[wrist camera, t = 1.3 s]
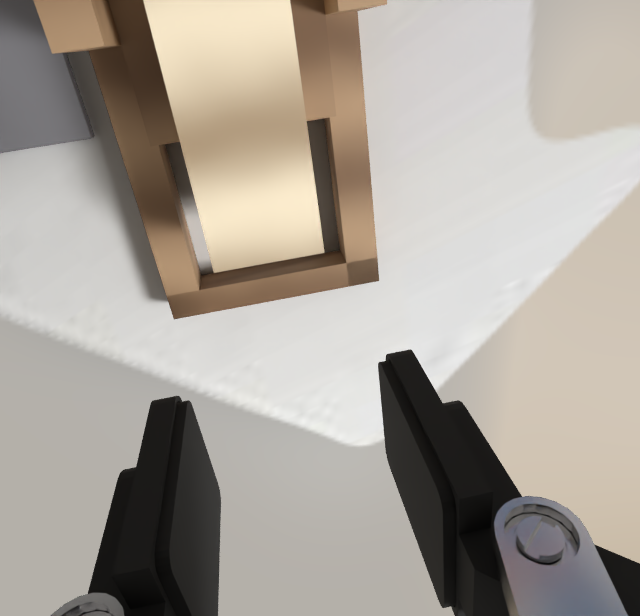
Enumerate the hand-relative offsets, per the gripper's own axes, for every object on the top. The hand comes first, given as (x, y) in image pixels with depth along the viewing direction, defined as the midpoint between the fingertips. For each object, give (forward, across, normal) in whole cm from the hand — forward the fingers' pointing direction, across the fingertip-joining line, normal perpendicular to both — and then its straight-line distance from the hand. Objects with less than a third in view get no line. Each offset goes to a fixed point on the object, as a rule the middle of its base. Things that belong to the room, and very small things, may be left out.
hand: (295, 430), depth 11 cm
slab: (+15, 0, -5) cm, 16 cm away
